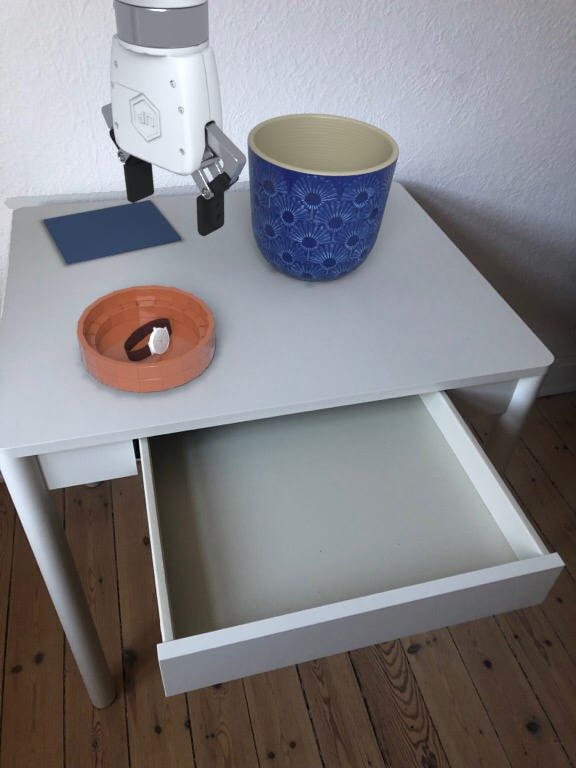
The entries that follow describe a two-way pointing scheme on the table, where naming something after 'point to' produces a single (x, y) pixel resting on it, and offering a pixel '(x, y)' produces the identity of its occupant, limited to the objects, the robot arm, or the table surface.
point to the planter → (318, 192)
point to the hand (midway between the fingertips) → (175, 213)
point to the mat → (110, 231)
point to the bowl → (146, 338)
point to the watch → (156, 342)
